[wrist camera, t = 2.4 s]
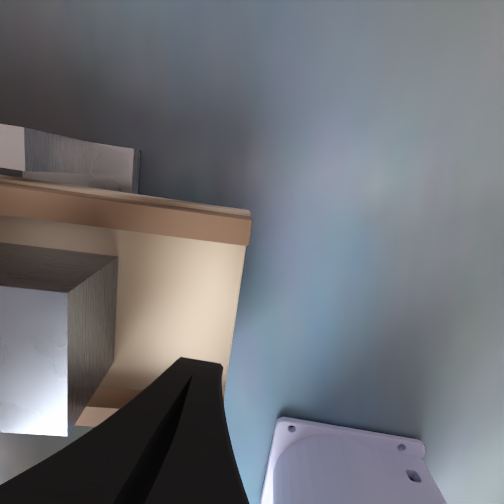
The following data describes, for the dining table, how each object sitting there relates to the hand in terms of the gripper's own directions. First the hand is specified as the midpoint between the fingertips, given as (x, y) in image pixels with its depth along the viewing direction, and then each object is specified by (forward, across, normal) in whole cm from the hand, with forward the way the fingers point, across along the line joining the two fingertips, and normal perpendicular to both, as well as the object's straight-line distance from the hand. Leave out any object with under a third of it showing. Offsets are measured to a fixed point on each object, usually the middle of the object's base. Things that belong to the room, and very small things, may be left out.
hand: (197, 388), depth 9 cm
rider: (+3, +8, 0) cm, 8 cm away
